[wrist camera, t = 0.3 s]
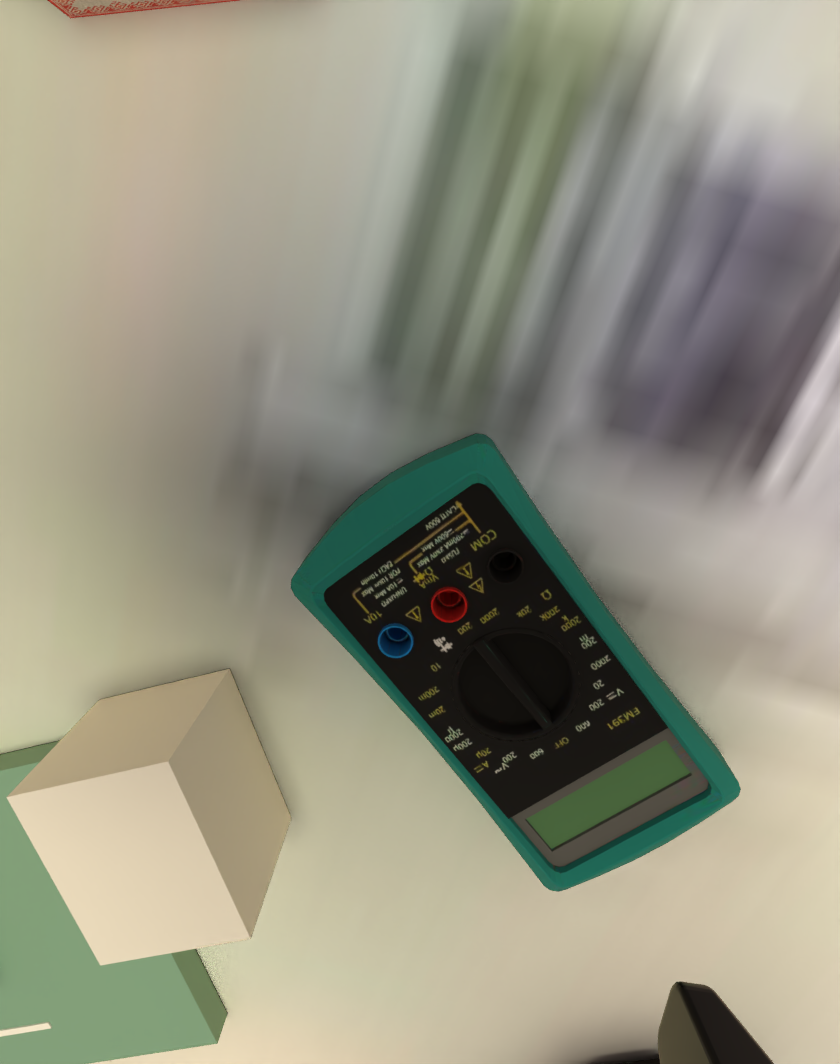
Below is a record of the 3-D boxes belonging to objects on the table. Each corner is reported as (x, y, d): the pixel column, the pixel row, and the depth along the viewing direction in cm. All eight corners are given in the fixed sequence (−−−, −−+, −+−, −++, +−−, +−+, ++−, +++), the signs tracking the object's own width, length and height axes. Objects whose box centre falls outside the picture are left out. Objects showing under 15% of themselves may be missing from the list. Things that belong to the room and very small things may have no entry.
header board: (227, 1013, 28) (217, 1045, 26) (-41, 1056, 29) (-63, 1088, 28) (87, 734, 24) (67, 756, 22) (-212, 803, 25) (-245, 827, 24)
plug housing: (291, 818, 24) (250, 939, 20) (168, 843, 25) (100, 965, 20) (229, 668, 23) (168, 761, 18) (99, 699, 23) (6, 797, 18)
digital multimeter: (472, 409, 20) (473, 423, 17) (723, 753, 23) (759, 813, 20) (290, 545, 22) (265, 578, 19) (547, 849, 25) (558, 916, 22)
